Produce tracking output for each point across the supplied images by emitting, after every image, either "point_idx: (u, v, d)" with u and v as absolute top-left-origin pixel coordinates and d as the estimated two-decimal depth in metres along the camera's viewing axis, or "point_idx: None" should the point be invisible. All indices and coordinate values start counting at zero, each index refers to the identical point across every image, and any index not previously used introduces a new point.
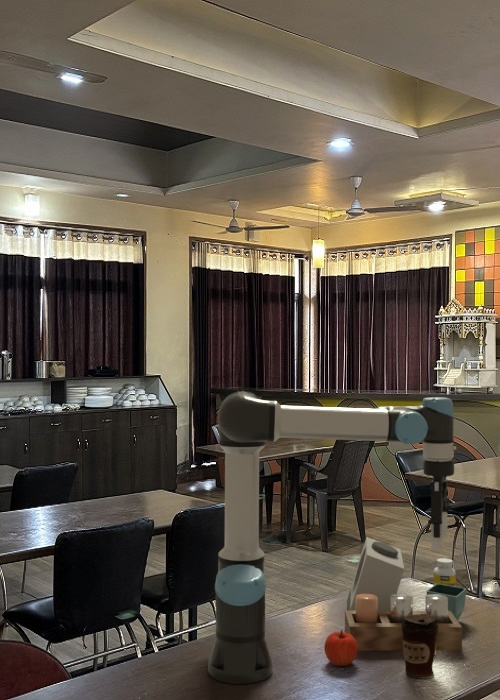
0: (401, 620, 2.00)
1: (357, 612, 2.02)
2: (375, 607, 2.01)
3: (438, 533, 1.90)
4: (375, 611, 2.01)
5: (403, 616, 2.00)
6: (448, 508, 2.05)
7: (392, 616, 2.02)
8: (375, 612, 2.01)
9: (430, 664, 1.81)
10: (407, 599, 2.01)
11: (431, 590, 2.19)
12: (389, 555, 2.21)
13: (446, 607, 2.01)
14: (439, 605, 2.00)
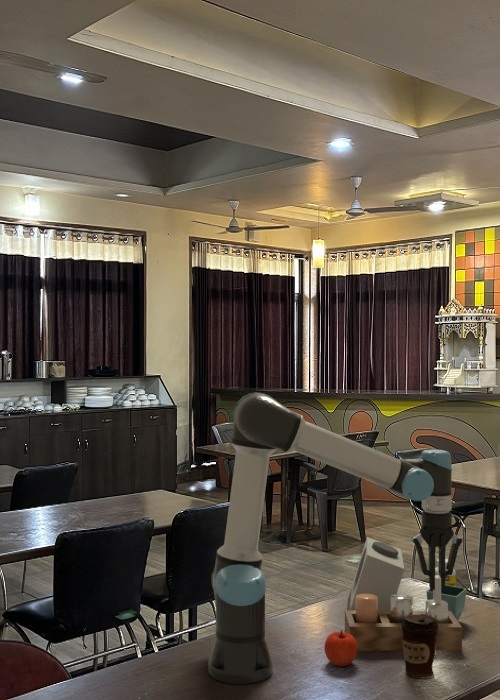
0: (401, 620, 2.00)
1: (357, 612, 2.02)
2: (375, 607, 2.01)
3: (430, 585, 2.02)
4: (375, 611, 2.01)
5: (403, 616, 2.00)
6: (444, 575, 2.01)
7: (392, 616, 2.02)
8: (375, 612, 2.01)
9: (430, 664, 1.81)
10: (407, 599, 2.01)
11: (431, 590, 2.19)
12: (389, 555, 2.21)
13: (446, 612, 2.01)
14: (439, 611, 2.00)
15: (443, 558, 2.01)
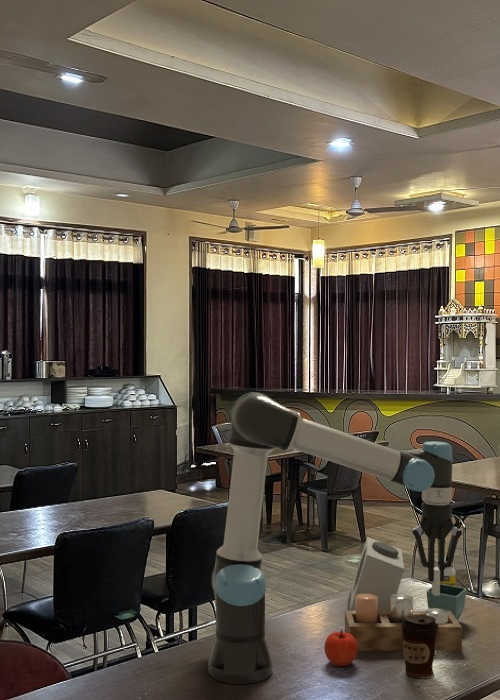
0: (401, 620, 2.00)
1: (357, 612, 2.02)
2: (375, 607, 2.01)
3: (428, 576, 2.02)
4: (375, 611, 2.01)
5: (403, 616, 2.00)
6: (443, 567, 2.01)
7: (392, 616, 2.02)
8: (375, 612, 2.01)
9: (430, 664, 1.81)
10: (407, 599, 2.01)
11: (431, 590, 2.19)
12: (389, 555, 2.21)
13: (446, 621, 2.01)
14: (439, 620, 2.00)
15: (442, 550, 2.01)
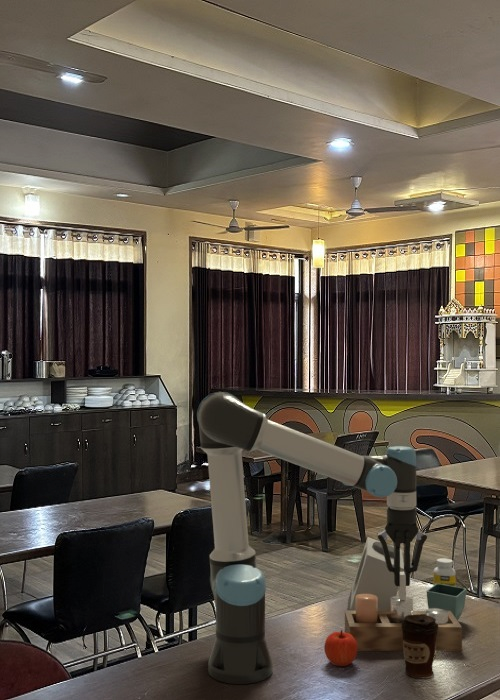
0: (401, 622, 2.00)
1: (357, 612, 2.02)
2: (375, 607, 2.01)
3: (395, 581, 2.02)
4: (375, 611, 2.01)
5: (403, 618, 2.00)
6: (408, 572, 2.01)
7: (392, 618, 2.02)
8: (375, 612, 2.01)
9: (430, 664, 1.81)
10: (407, 601, 2.01)
11: (431, 590, 2.19)
12: (390, 555, 2.21)
13: (446, 621, 2.01)
14: (439, 620, 2.00)
15: (408, 555, 2.02)
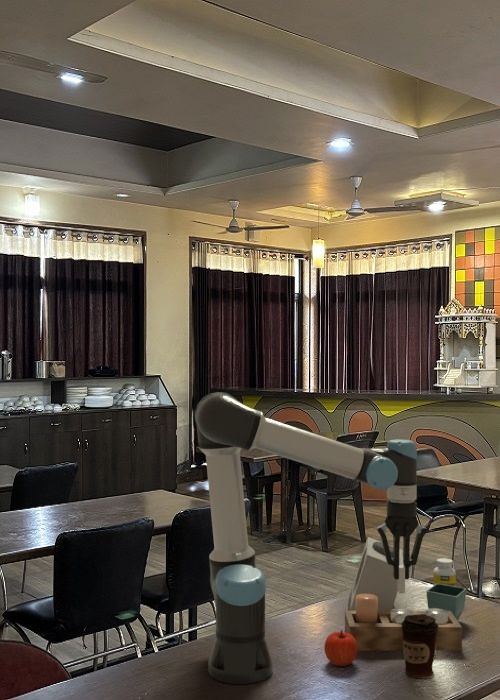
0: None
1: (357, 612, 2.02)
2: (375, 607, 2.01)
3: (394, 574, 2.02)
4: (375, 611, 2.01)
5: None
6: (408, 565, 2.01)
7: None
8: (375, 612, 2.01)
9: (430, 664, 1.81)
10: (407, 613, 2.01)
11: (431, 590, 2.19)
12: None
13: (446, 621, 2.01)
14: (439, 620, 2.00)
15: (407, 548, 2.02)
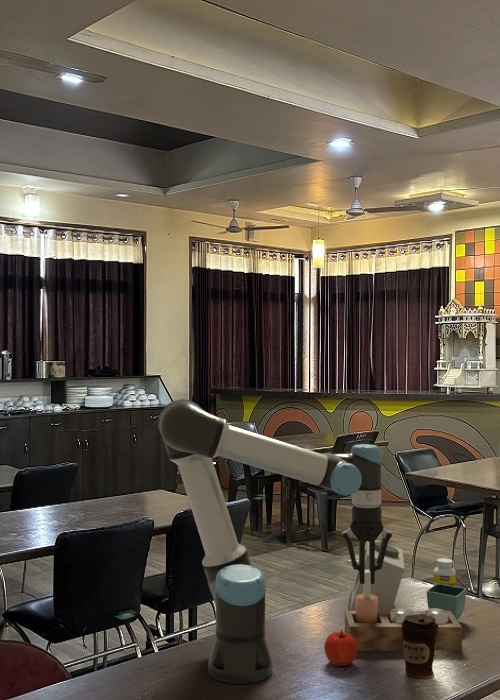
0: None
1: (357, 612, 2.02)
2: (375, 607, 2.01)
3: (359, 579, 2.03)
4: (375, 611, 2.01)
5: None
6: (373, 570, 2.01)
7: None
8: (375, 612, 2.01)
9: (430, 664, 1.81)
10: (407, 613, 2.01)
11: (431, 590, 2.19)
12: (390, 555, 2.21)
13: (446, 621, 2.01)
14: (439, 620, 2.00)
15: (373, 552, 2.02)
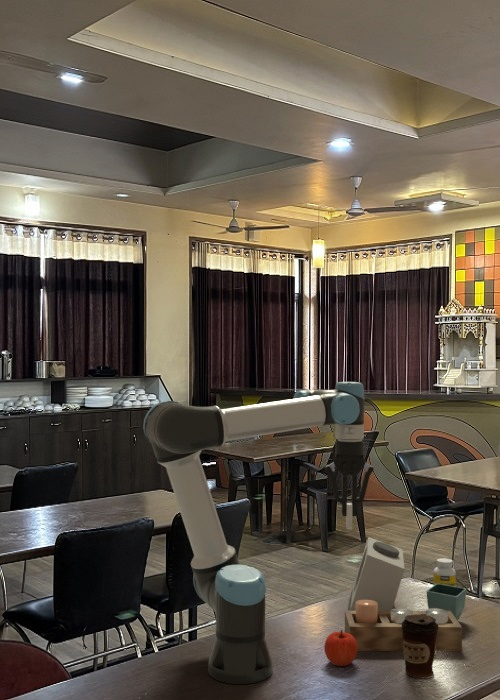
0: None
1: (357, 618, 2.02)
2: (375, 613, 2.01)
3: (342, 511, 2.09)
4: (375, 617, 2.01)
5: None
6: (355, 502, 2.08)
7: None
8: (375, 618, 2.01)
9: (430, 664, 1.81)
10: (407, 613, 2.01)
11: (431, 590, 2.19)
12: (390, 555, 2.21)
13: (446, 621, 2.01)
14: (439, 620, 2.00)
15: (355, 486, 2.08)
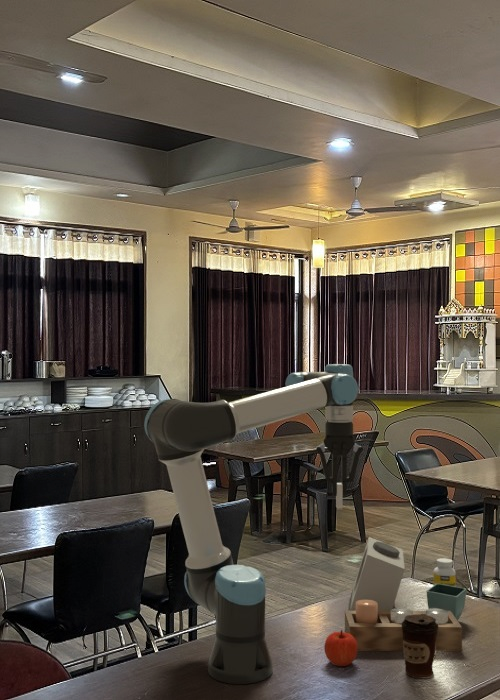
0: None
1: (357, 618, 2.02)
2: (375, 613, 2.01)
3: (332, 491, 2.14)
4: (375, 617, 2.01)
5: None
6: (345, 482, 2.12)
7: None
8: (375, 618, 2.01)
9: (430, 664, 1.81)
10: (407, 613, 2.01)
11: (431, 590, 2.19)
12: (390, 555, 2.21)
13: (446, 621, 2.01)
14: (439, 620, 2.00)
15: (344, 465, 2.13)
